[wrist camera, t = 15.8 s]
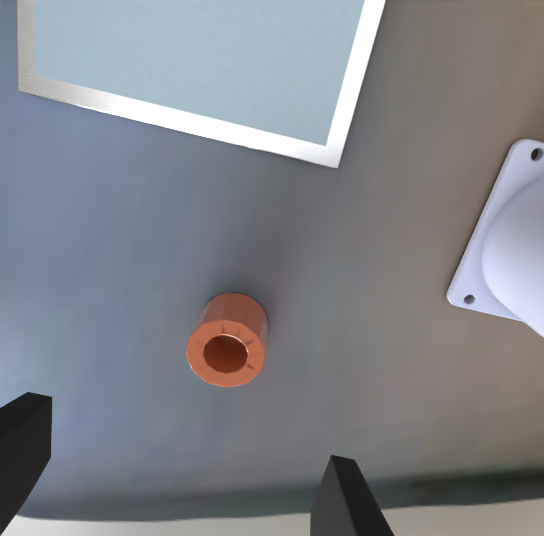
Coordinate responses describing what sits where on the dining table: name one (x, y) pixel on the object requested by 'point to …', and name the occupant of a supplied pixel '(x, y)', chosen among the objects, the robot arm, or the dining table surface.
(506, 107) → the dining table surface
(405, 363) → the dining table surface
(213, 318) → the pen holder
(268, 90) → the tablet
